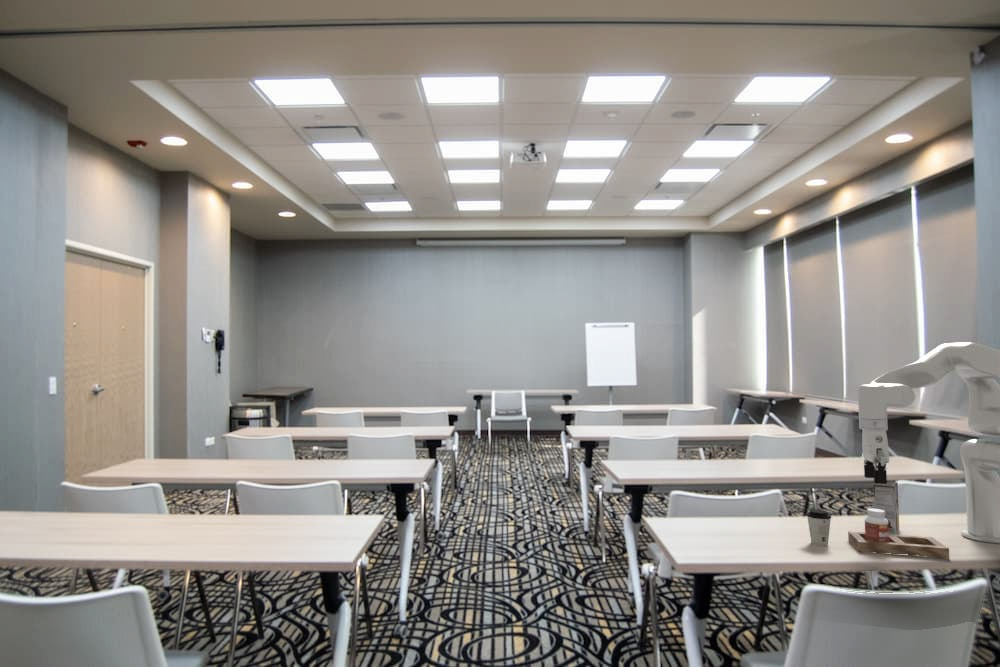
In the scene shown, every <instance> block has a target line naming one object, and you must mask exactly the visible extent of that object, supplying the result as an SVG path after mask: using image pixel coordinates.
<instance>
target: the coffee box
mask: <svg viewBox="0 0 1000 667" xmlns="http://www.w3.org/2000/svg"><path fill="white" fill-rule="evenodd" d="M898 483H899V482H894V481H887V484H876V483H874V484H873V507H874V508H873V509H880V510H884V511H885V516H884V518H886V519H887V520H888V530H889V534H894V535H899V532H900V520H899V519H900V514H899V511H900V510H899V508H900V507H899V489H898V488H899V486H898Z"/></svg>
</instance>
